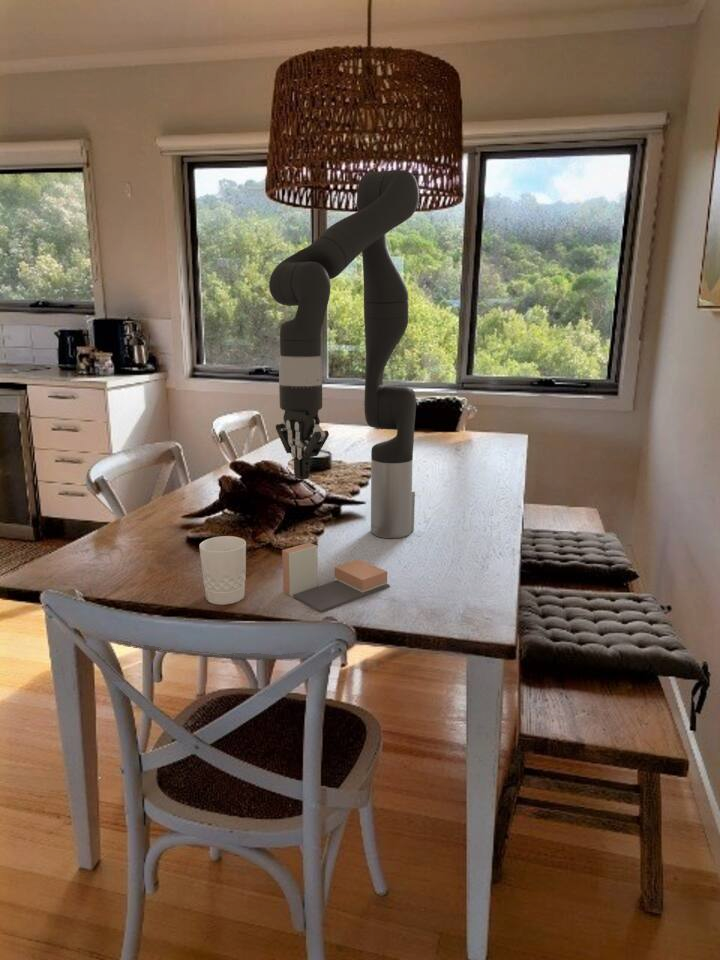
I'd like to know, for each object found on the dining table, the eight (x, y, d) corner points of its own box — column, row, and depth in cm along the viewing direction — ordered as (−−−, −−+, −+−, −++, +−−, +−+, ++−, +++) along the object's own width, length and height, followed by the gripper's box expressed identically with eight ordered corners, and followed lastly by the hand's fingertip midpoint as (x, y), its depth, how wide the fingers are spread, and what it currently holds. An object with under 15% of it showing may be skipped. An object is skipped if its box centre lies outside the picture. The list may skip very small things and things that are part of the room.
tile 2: (358, 559, 123) (387, 571, 117) (358, 570, 123) (387, 583, 117) (334, 566, 119) (362, 580, 113) (334, 578, 119) (362, 592, 114)
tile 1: (310, 582, 119) (309, 542, 117) (317, 586, 117) (317, 545, 115) (283, 591, 115) (282, 550, 113) (290, 596, 113) (289, 553, 111)
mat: (361, 573, 123) (361, 571, 123) (389, 586, 117) (389, 584, 117) (292, 596, 113) (292, 594, 112) (320, 612, 107) (320, 610, 107)
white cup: (193, 599, 112) (189, 545, 109) (225, 584, 118) (223, 533, 115) (225, 610, 107) (222, 555, 105) (257, 594, 114) (255, 541, 111)
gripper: (341, 383, 109) (341, 482, 113) (295, 378, 119) (296, 469, 123) (307, 386, 104) (308, 488, 108) (261, 380, 114) (263, 475, 118)
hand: (301, 478), depth 116 cm, fingers closed
